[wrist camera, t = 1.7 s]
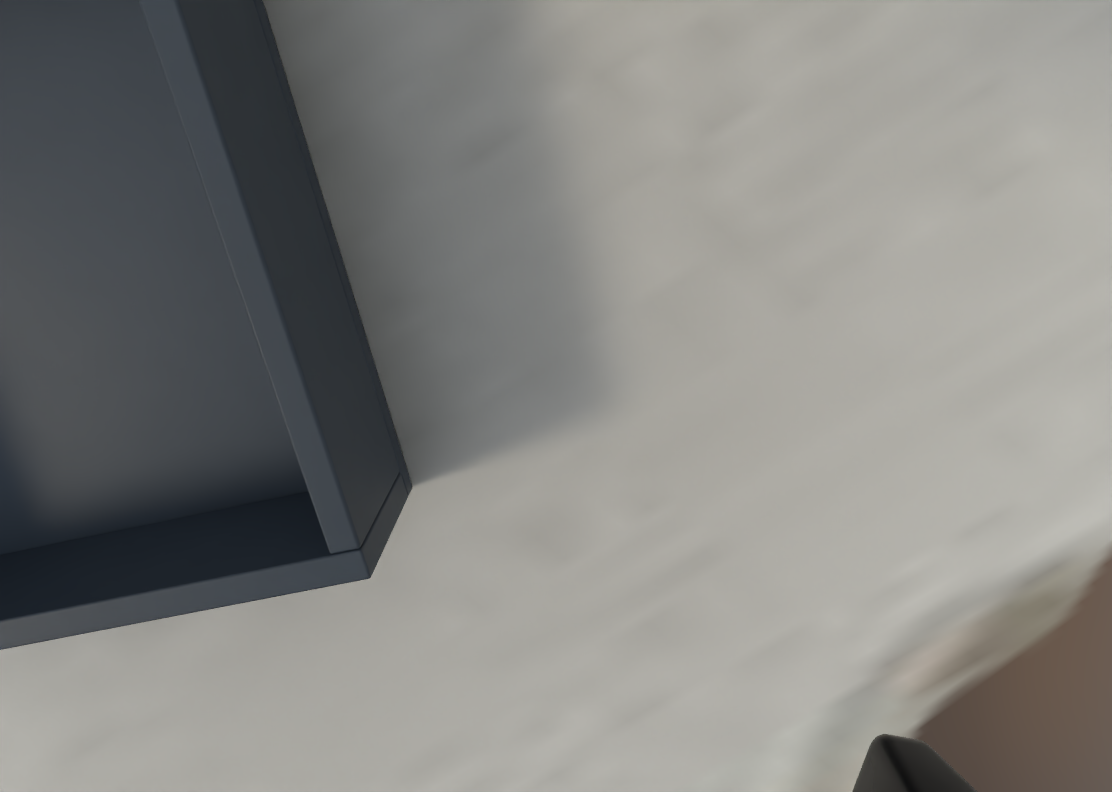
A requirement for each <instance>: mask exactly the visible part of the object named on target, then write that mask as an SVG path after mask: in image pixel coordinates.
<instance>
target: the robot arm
mask: <svg viewBox="0 0 1112 792" xmlns="http://www.w3.org/2000/svg"><path fill="white" fill-rule="evenodd" d="M853 792H977V791H976V790H975V789H974V788H973V787H972V786H971V785H970V784H969V783H968V782H967V781H966V780H965V779H964V778H963V777H961V776H960V775H959V774H958V773H957V772H956V771H955V770H954V769H953V768H952V767H951V766H950V765H949V764H948V763H947V762H946V761H945V760H944V759H943V758H942V757H941V756H939V754H937V753H936V752H935V751H934V750H933V749H932V748H931V747H930V746H929V745H927V744H926V743H925V742H923V741H921V740H917V739H912V738H906V737H900V736H894V735H888V734H882V735H879V736H877V737H876V738H875V739H874V740H873V741H872V743H871V745H870V747H869V749H868V752H867V755H866V757H865V760H864V763H863V765H862V768H861V770H860V773H859V776H858V778H857V781H856V784H855V786H854V789H853Z"/></svg>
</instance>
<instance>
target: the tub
mask: <svg viewBox="0 0 1112 792" xmlns="http://www.w3.org/2000/svg"><path fill="white" fill-rule="evenodd" d="M411 489H412V484H411V481H410V477H409V474H408V471H407V468H406V464H405V461H404V458H403V455H402V451H401V448H400V445H399V442H398V438H397V435H396V432H395V429H394V425H393V422H392V419H391V416H390V413H389V409H388V406H387V403H386V400H385V396H384V393H383V390H382V387H381V383H380V380H379V377H378V374H377V370H376V367H375V364H374V361H373V357H372V354H371V351H370V348H369V344H368V341H367V338H366V335H365V331H364V328H363V325H362V322H361V318H360V315H359V312H358V309H357V306H356V302H355V299H354V296H353V293H352V289H351V286H350V283H349V280H348V276H347V273H346V270H345V267H344V263H343V260H342V257H341V254H340V250H339V247H338V244H337V241H336V237H335V234H334V231H333V228H332V224H331V221H330V218H329V215H328V211H327V208H326V205H325V202H324V199H323V195H322V192H321V189H320V186H319V182H318V179H317V176H316V173H315V169H314V166H313V163H312V160H311V156H310V153H309V150H308V147H307V143H306V140H305V137H304V134H303V130H302V127H301V124H300V121H299V117H298V114H297V111H296V108H295V104H294V101H293V98H292V95H291V92H290V88H289V85H288V82H287V79H286V75H285V72H284V69H283V66H282V62H281V59H280V56H279V53H278V49H277V46H276V43H275V40H274V36H273V33H272V30H271V27H270V23H269V20H268V17H267V14H266V10H265V7H264V4H263V1H262V0H0V650H1V649H6V648H12V647H17V646H22V645H27V644H32V643H37V642H43V641H48V640H53V639H58V638H63V637H69V636H74V635H79V634H84V633H89V632H94V631H100V630H105V629H110V628H115V627H120V626H126V625H131V624H136V623H141V622H146V621H151V620H157V619H162V618H167V617H172V616H177V615H183V614H188V613H193V612H198V611H203V610H208V609H214V608H219V607H224V606H229V605H234V604H240V603H245V602H250V601H255V600H260V599H265V598H271V597H276V596H281V595H286V594H291V593H297V592H302V591H307V590H312V589H317V588H322V587H328V586H333V585H338V584H343V583H348V582H354V581H359V580H364V579H369V578H370V577H371V575H372V573H373V571H374V569H375V567H376V565H377V562H378V560H379V558H380V556H381V554H382V552H383V549H384V547H385V545H386V543H387V541H388V539H389V536H390V534H391V532H392V530H393V528H394V526H395V523H396V521H397V519H398V517H399V515H400V513H401V510H402V508H403V506H404V504H405V502H406V500H407V498H408V495H409V493H410V491H411Z"/></svg>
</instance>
